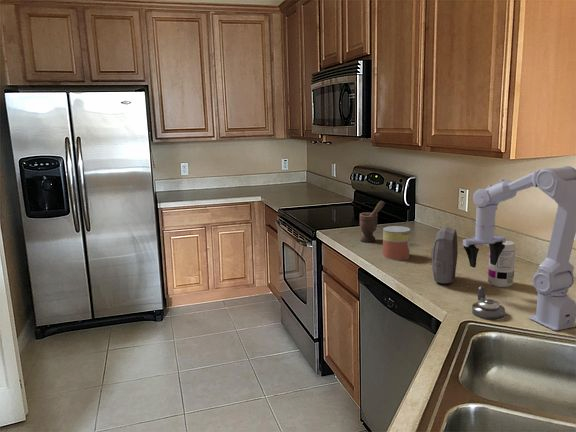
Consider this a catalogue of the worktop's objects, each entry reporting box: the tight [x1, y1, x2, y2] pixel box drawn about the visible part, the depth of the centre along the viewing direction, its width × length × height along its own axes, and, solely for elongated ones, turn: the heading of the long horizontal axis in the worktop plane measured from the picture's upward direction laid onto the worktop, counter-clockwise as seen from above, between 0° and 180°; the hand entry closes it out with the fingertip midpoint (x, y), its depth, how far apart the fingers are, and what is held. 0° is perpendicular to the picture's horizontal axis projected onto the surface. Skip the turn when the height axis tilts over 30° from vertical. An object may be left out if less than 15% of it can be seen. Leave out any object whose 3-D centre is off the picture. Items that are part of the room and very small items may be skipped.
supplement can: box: [487, 240, 517, 288], centre depth 165 cm, size 8×8×15 cm
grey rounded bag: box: [430, 226, 459, 284], centre depth 170 cm, size 15×8×20 cm, turn 153°
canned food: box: [382, 225, 411, 261], centre depth 201 cm, size 11×11×12 cm
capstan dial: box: [477, 285, 501, 310], centre depth 143 cm, size 10×6×4 cm, turn 179°
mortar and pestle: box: [359, 200, 386, 243], centre depth 227 cm, size 12×9×20 cm
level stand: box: [471, 301, 506, 321], centre depth 142 cm, size 9×9×2 cm
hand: (483, 265), depth 156 cm, fingers open, 7 cm apart
